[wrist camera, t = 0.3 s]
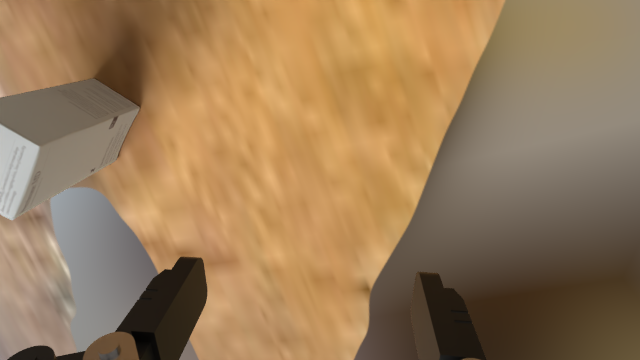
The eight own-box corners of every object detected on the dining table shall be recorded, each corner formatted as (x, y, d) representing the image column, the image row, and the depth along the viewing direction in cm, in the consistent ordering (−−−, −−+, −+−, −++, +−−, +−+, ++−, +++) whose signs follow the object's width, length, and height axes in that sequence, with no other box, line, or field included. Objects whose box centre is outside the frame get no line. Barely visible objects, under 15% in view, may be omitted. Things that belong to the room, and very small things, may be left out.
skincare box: (117, 160, 44) (15, 228, 31) (69, 133, 43) (-59, 190, 30) (143, 103, 41) (41, 150, 27) (91, 71, 40) (-41, 104, 26)
